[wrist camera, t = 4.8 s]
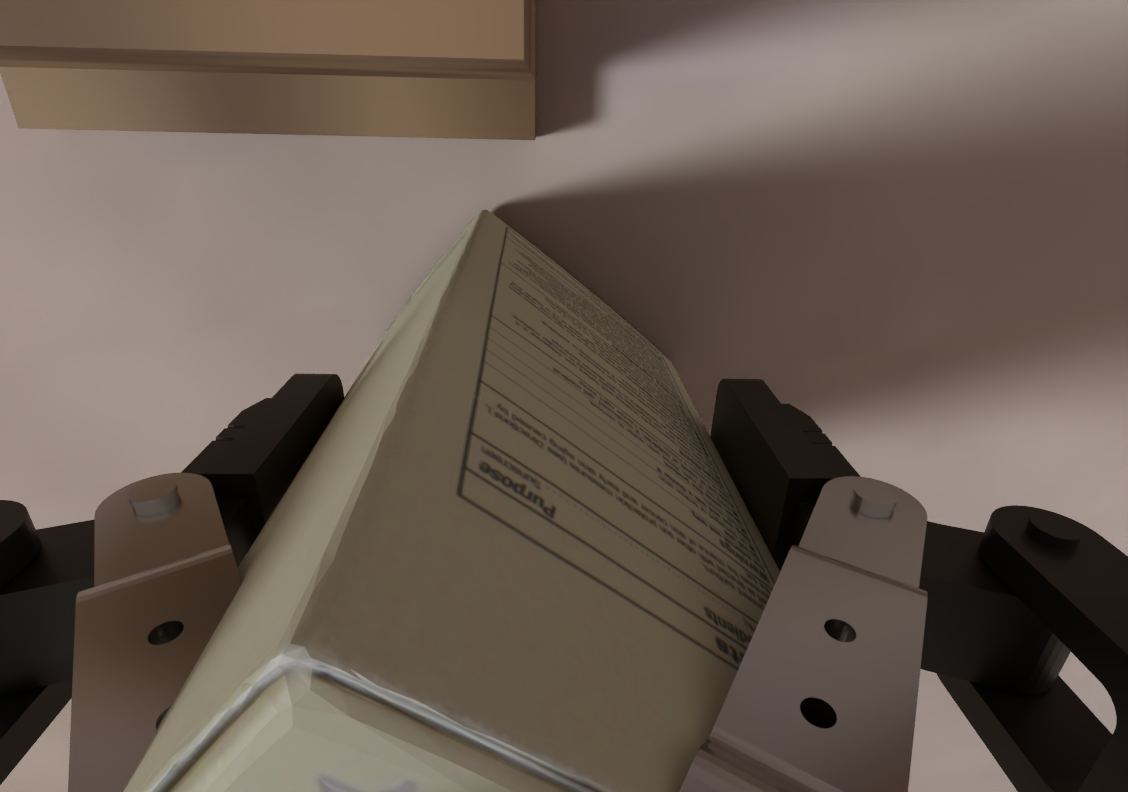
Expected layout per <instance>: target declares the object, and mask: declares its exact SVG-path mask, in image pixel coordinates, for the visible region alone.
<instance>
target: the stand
mask: <svg viewBox="0 0 1128 792" xmlns="http://www.w3.org/2000/svg"><path fill="white" fill-rule="evenodd" d="M0 73H1V76H2V79H3V82H4V85H5V88H6V91H7V94H8V97H9V100H10V103H11V106H12V109H13V112H14V115H15V118H16V121H17V124H18V127H19V128H32V129H76V130H120V131H163V132H207V133H251V134H294V135H338V136H382V137H425V138H469V139H513V140H535V139H536V0H0Z"/></svg>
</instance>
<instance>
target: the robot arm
mask: <svg viewBox="0 0 1128 792" xmlns="http://www.w3.org/2000/svg"><path fill="white" fill-rule="evenodd" d="M343 399H344V393H343V387H342V383H341V380H340V378H339V376H338V375H336V374H294V375H293V376H292V377H291V378H290V379H289V380H288V381H287V382H286V384H285V385H284V386H283V387H282V388H281V389H280V390H279V391H278V392H277V393H276V394H275V395H274V396H273V398H266V399H264V400H262V401H260V402H258V403H256V404H254V405H252V406H250V407H249V408H247V409H245V410H243V411H242V412H241V413H240V414H239V415H238V416H237V417H236V418H235V419H234V420H233V421H232V422H231V423H230V424H229V425H228V428H225V429H224V430H223V431H222V432H221V433H220V434H219V435H218V436H217V437H216V441H212V442H211V443H210V444H209V445H208V446H207V447H206V448H205V449H204V450H203V451H202V452H201V453H200V454H199V455H198V456H197V457H196V458H195V459H194V460H193V461H192V462H191V463H190V464H189V465H188V466H187V467H186V468H185V469H184V470H183V471H182V472H181V473H170V474H163V475H158V476H153V477H150V478H146V479H143V480H140V481H137V482H134V483H132V484H130V485H127V486H125V487H123V488H121V489H120V490H118V491H116V492H114V493H113V494H111V495H110V496H109V497H107V498H106V499H105V500H104V501H103V502H102V503H101V504H100V505H99V506H98V508H97V510H96V512H95V520H90V521H84V522H78V523H73V524H67V525H61V526H56V527H50V528H44V529H38V530H36V529H35V527H34V525H33V523H32V520H31V518H30V516H29V513H28V511H27V509H26V507H25V506H24V505H23V504H20V503H18V502H14V501H7V500H0V785H1V784H2V782H3V781H4V780H5V779H6V777H7V776H8V775H9V774H10V772H11V771H12V770H13V769H14V768H15V766H16V765H17V764H18V763H19V761H20V760H21V759H22V758H23V757H24V755H25V754H26V753H27V752H28V750H29V749H30V748H31V747H32V746H33V744H34V743H35V742H36V741H37V739H38V738H39V737H40V736H41V734H42V733H43V732H44V731H45V730H46V728H47V727H48V726H49V725H50V723H51V722H52V721H53V720H54V719H55V717H56V716H57V715H58V714H59V712H60V711H61V710H62V709H63V708H64V706H65V705H66V704H67V703H68V701H69V700H70V699H71V698H72V707H71V732H70V756H69V781H68V792H122V791H123V789H124V787H125V785H126V784H127V782H128V780H129V779H130V777H131V775H132V773H133V772H134V770H135V768H136V766H137V765H138V763H139V761H140V759H141V758H142V756H143V754H144V752H145V751H146V749H147V747H148V745H149V744H150V742H151V740H152V738H153V737H154V735H155V733H156V731H157V728H158V726H159V724H160V722H161V721H162V719H163V717H164V716H165V714H166V713H167V711H168V710H169V708H170V707H171V705H172V704H173V702H174V700H175V699H176V697H177V695H178V693H179V692H180V690H181V688H182V686H183V685H184V683H185V681H186V680H187V678H188V676H189V674H190V673H191V671H192V669H193V668H194V666H195V664H196V662H197V661H198V659H199V657H200V655H201V654H202V652H203V650H204V649H205V647H206V645H207V643H208V642H209V640H210V638H211V637H212V635H213V633H214V631H215V630H216V628H217V626H218V624H219V623H220V621H221V619H222V618H223V616H224V614H225V612H226V611H227V609H228V607H229V605H230V604H231V602H232V600H233V599H234V597H235V595H236V593H237V592H238V590H239V588H240V586H241V585H242V582H241V579H240V575H239V572H238V567H239V566H240V564H241V562H242V561H243V559H244V557H245V556H246V554H247V553H248V551H249V549H250V548H251V546H252V545H253V543H254V541H255V540H256V538H257V537H258V535H259V533H260V532H261V530H262V528H263V527H264V525H265V524H266V522H267V521H268V519H269V517H270V516H271V514H272V513H273V511H274V509H275V508H276V506H277V505H278V503H279V502H280V500H281V498H282V497H283V495H284V494H285V492H286V490H287V489H288V487H289V486H290V484H291V482H292V481H293V479H294V478H295V476H296V475H297V473H298V471H299V470H300V468H301V467H302V465H303V463H304V462H305V460H306V459H307V457H308V455H309V454H310V452H311V451H312V449H313V447H314V446H315V444H316V443H317V441H318V440H319V438H320V436H321V435H322V433H323V432H324V430H325V428H326V427H327V425H328V424H329V422H330V420H331V419H332V417H333V416H334V414H335V412H336V411H337V409H338V408H339V406H340V404H341V403H342V401H343ZM710 438H711V440H712V442H713V443H714V445H715V447H716V449H717V451H718V453H719V455H720V457H721V459H722V461H723V463H724V465H725V467H726V469H727V470H728V472H729V474H730V476H731V478H732V480H733V482H734V484H735V486H736V488H737V490H738V492H739V494H740V495H741V497H742V499H743V501H744V503H745V505H746V507H747V509H748V511H749V513H750V515H751V517H752V518H753V520H754V522H755V524H756V526H757V528H758V530H759V532H760V534H761V536H762V538H763V540H764V541H765V543H766V545H767V547H768V549H769V551H770V553H771V555H772V557H773V559H774V561H775V563H776V565H777V567H778V568H779V570H780V574H779V576H778V578H777V581H776V583H775V585H774V588H773V590H772V592H771V595H770V597H769V599H768V602H767V604H766V606H765V609H764V611H763V613H762V616H761V618H760V620H759V623H758V625H757V627H756V630H755V632H754V634H753V637H752V639H751V641H750V644H749V646H748V648H747V651H746V653H745V655H744V658H743V660H742V662H741V665H740V667H739V669H738V672H737V674H736V676H735V678H734V681H733V683H732V685H731V688H730V690H729V692H728V695H727V697H726V699H725V702H724V704H723V706H722V709H721V711H720V713H719V716H718V718H717V720H716V723H715V725H714V727H713V729H712V732H711V734H710V736H709V737H708V739H707V741H706V742H705V743H703V744H702V746H701V747H700V749H699V750H698V752H697V754H696V756H695V758H694V760H693V762H692V764H691V766H690V768H689V770H688V773H687V775H686V777H685V779H684V782H683V784H682V786H681V789H680V791H679V792H908V785H909V775H910V766H911V756H912V746H913V736H914V727H915V717H916V707H917V697H918V687H919V678H920V669H923V670H927V671H931V672H935V673H937V675H938V677H939V679H940V680H941V682H942V683H943V685H944V686H945V688H946V689H947V691H948V692H949V693H950V695H951V696H952V698H953V699H954V701H955V702H956V703H957V705H958V706H959V708H960V709H961V711H962V712H963V714H964V715H965V716H966V718H967V719H968V721H969V722H970V724H971V725H972V726H973V728H974V729H975V731H976V732H977V734H978V735H979V736H980V738H981V739H982V741H983V742H984V744H985V745H986V746H987V748H988V749H989V751H990V752H991V754H992V755H993V757H994V758H995V759H996V761H997V762H998V764H999V765H1000V767H1001V768H1002V769H1003V771H1004V772H1005V774H1006V775H1007V777H1008V778H1009V779H1010V781H1011V782H1012V784H1013V785H1014V787H1015V788H1016V790H1017V791H1018V792H1128V556H1126V555H1125V554H1124V553H1122V552H1121V551H1120V550H1119V549H1117V548H1116V547H1115V546H1113V545H1112V544H1111V543H1109V542H1108V541H1107V540H1105V539H1104V538H1103V537H1102V536H1100V535H1099V534H1097V533H1096V532H1094V531H1093V530H1091V529H1090V528H1088V527H1086V526H1085V525H1083V524H1081V523H1079V522H1077V521H1075V520H1072V519H1070V518H1068V517H1065V516H1063V515H1060V514H1057V513H1054V512H1051V511H1047V510H1043V509H1039V508H1034V507H1027V506H1005V507H1001V508H998V509H996V510H995V511H994V512H993V513H992V515H991V517H990V519H989V522H988V525H987V527H986V530H985V532H984V533H983V532H978V531H973V530H967V529H962V528H957V527H952V526H947V525H941V524H937V523H932V522H928V521H927V513H926V511H925V509H924V507H923V506H922V504H921V503H920V502H919V501H918V500H917V499H915V498H914V497H913V496H912V495H910V494H909V493H907V492H905V491H904V490H902V489H900V488H898V487H896V486H893V485H891V484H888V483H886V482H882V481H879V480H875V479H871V478H865V477H860V475H859V474H858V473H857V472H856V471H855V469H854V468H853V467H852V466H851V465H850V463H849V462H848V461H847V460H846V459H845V458H844V456H843V455H842V454H841V453H840V452H839V450H838V449H837V448H836V447H835V446H832V442H831V441H830V440H829V438H828V437H827V436H826V435H825V434H822V430H821V429H820V428H819V427H818V425H817V424H816V423H815V422H814V421H813V419H812V418H811V417H810V416H808V415H807V414H805V413H803V412H802V411H800V410H798V409H797V408H795V407H793V406H792V405H790V404H781V403H780V402H779V400H778V399H777V398H776V397H775V395H774V394H773V393H772V391H771V390H770V389H769V388H768V386H767V385H766V384H765V382H764V381H763V380H761V379H722V380H721V381H720V383H719V386H718V390H717V395H716V402H715V409H714V416H713V423H712V430H711V437H710ZM1070 652H1072V653H1073V654H1074V655H1075V656H1076V657H1077V658H1078V659H1079V660H1080V661H1081V662H1082V663H1083V664H1084V665H1085V666H1086V667H1087V669H1088V670H1089V671H1090V672H1091V673H1092V674H1093V675H1094V676H1095V677H1096V678H1097V679H1098V680H1099V681H1100V682H1101V683H1102V684H1103V686H1104V687H1105V688H1106V690H1107V691H1108V693H1109V695H1110V697H1111V699H1112V701H1113V703H1114V706H1115V710H1116V716H1117V724H1116V729H1115V731H1114V733H1113V735H1112V734H1111V733H1110V732H1109V731H1108V729H1107V728H1106V727H1105V726H1104V725H1103V724H1102V723H1101V722H1100V721H1099V720H1098V718H1097V717H1096V716H1095V715H1094V714H1093V713H1092V712H1091V711H1090V710H1089V709H1088V707H1087V706H1086V705H1085V704H1084V703H1083V702H1082V701H1081V700H1080V699H1079V698H1078V696H1077V695H1076V694H1075V693H1074V692H1073V691H1072V690H1071V689H1070V688H1069V687H1068V685H1067V684H1066V683H1065V682H1064V681H1063V680H1062V679H1061V678H1060V677H1059V676H1058V674H1059V673H1060V671H1061V669H1062V667H1063V665H1064V663H1065V661H1066V659H1067V657H1068V656H1069V654H1070Z"/></svg>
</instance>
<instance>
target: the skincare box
mask: <svg viewBox="0 0 1128 792" xmlns="http://www.w3.org/2000/svg"><path fill="white" fill-rule="evenodd" d="M238 572H239V575H240V579H241V582H242V585H241V586H240V588H239V590H238V592H237V593H236V595H235V597H234V599H233V600H232V602H231V604H230V605H229V607H228V609H227V611H226V612H225V614H224V616H223V618H222V619H221V621H220V623H219V624H218V626H217V628H216V630H215V631H214V633H213V635H212V637H211V638H210V640H209V642H208V643H207V645H206V647H205V649H204V650H203V652H202V654H201V655H200V657H199V659H198V661H197V662H196V664H195V666H194V668H193V669H192V671H191V673H190V674H189V676H188V678H187V680H186V681H185V683H184V685H183V686H182V688H181V690H180V692H179V693H178V695H177V697H176V699H175V700H174V702H173V704H172V705H171V707H170V708H169V710H168V711H167V713H166V714H165V716H164V717H163V719H162V721H161V722H160V724H159V726H158V728H157V731H156V733H155V735H154V737H153V738H152V740H151V742H150V744H149V745H148V747H147V749H146V751H145V752H144V754H143V756H142V758H141V759H140V761H139V763H138V765H137V766H136V768H135V770H134V772H133V773H132V775H131V777H130V779H129V780H128V782H127V784H126V785H125V787H124V789H123V791H122V792H679V791H680V789H681V786H682V784H683V782H684V779H685V777H686V775H687V773H688V770H689V768H690V766H691V764H692V762H693V760H694V758H695V756H696V754H697V752H698V750H699V749H700V747H701V746H702V744H703V743H705V742H706V741H707V739H708V737H709V736H710V734H711V732H712V729H713V727H714V725H715V723H716V720H717V718H718V716H719V713H720V711H721V709H722V706H723V704H724V702H725V699H726V697H727V695H728V692H729V690H730V688H731V685H732V683H733V681H734V678H735V676H736V674H737V672H738V669H739V667H740V665H741V662H742V660H743V658H744V655H745V653H746V651H747V648H748V646H749V644H750V641H751V639H752V637H753V634H754V632H755V630H756V627H757V625H758V623H759V620H760V618H761V616H762V613H763V611H764V609H765V606H766V604H767V602H768V599H769V597H770V595H771V592H772V590H773V588H774V585H775V583H776V581H777V578H778V576H779V574H780V570H779V568H778V567H777V565H776V563H775V561H774V559H773V557H772V555H771V553H770V551H769V549H768V547H767V545H766V543H765V541H764V540H763V538H762V536H761V534H760V532H759V530H758V528H757V526H756V524H755V522H754V520H753V518H752V517H751V515H750V513H749V511H748V509H747V507H746V505H745V503H744V501H743V499H742V497H741V495H740V494H739V492H738V490H737V488H736V486H735V484H734V482H733V480H732V478H731V476H730V474H729V472H728V470H727V469H726V467H725V465H724V463H723V461H722V459H721V457H720V455H719V453H718V451H717V449H716V447H715V445H714V443H713V442H712V440H711V438H710V436H709V434H708V432H707V430H706V428H705V426H704V424H703V422H702V420H701V418H700V417H699V415H698V413H697V411H696V409H695V407H694V405H693V403H692V401H691V399H690V397H689V395H688V393H687V391H686V389H685V387H684V385H683V383H682V381H681V379H680V377H679V375H678V373H677V372H676V370H675V368H674V366H673V364H672V362H671V361H670V360H669V359H668V358H667V357H666V356H664V355H663V354H662V353H661V352H660V351H659V350H658V349H657V348H656V347H655V346H653V345H652V344H651V343H650V342H649V341H648V340H647V339H646V338H645V337H644V336H642V335H641V334H640V333H639V332H638V331H636V330H635V329H634V328H633V327H632V326H631V325H630V324H628V323H627V322H626V321H625V320H624V319H623V318H622V317H620V316H619V315H618V314H617V313H616V312H615V311H613V310H612V309H611V308H610V307H609V306H607V305H606V304H605V303H604V302H603V301H602V300H600V299H599V298H598V297H597V296H595V295H594V294H593V293H592V292H591V291H589V290H588V289H587V288H586V287H584V286H583V285H582V284H581V283H580V282H578V281H577V280H576V279H575V278H574V277H572V276H571V275H570V274H569V273H568V272H566V271H565V270H564V269H563V268H561V267H560V266H559V265H558V264H556V263H555V262H554V261H553V260H551V259H550V258H549V257H548V256H546V255H545V254H544V253H543V252H541V251H540V250H539V249H538V248H536V247H535V246H534V245H533V244H531V243H530V242H529V241H527V240H526V239H525V238H524V237H522V236H521V235H520V234H518V233H517V232H516V231H514V230H513V229H512V228H511V227H509V226H508V225H507V224H505V223H504V222H503V221H502V220H500V219H499V218H498V217H496V216H495V215H494V214H493V213H491V212H489V211H488V210H482V211H480V212H479V214H478V215H477V216H476V217H475V218H474V219H473V221H472V222H471V223H470V224H469V225H468V227H467V228H466V229H465V230H464V231H463V232H462V234H461V235H460V236H459V237H458V238H457V240H456V241H455V242H454V243H453V245H452V246H451V247H450V248H449V249H448V251H447V252H446V253H445V254H444V255H443V257H442V258H441V259H440V260H439V262H438V263H437V264H436V265H435V267H434V268H433V269H432V270H431V272H430V273H429V274H428V276H427V277H426V278H425V279H424V281H423V282H422V283H421V284H420V286H419V287H418V288H417V290H416V291H415V292H414V294H413V295H412V296H411V298H410V299H409V300H408V302H407V303H406V304H405V306H404V307H403V308H402V310H401V311H400V312H399V314H398V315H397V317H396V318H395V320H394V321H393V323H392V324H391V325H390V327H389V328H388V330H387V331H386V333H385V334H384V336H383V337H382V339H381V340H380V342H379V343H378V345H377V347H376V348H375V350H374V351H373V353H372V355H371V356H370V358H369V359H368V361H367V363H366V364H365V366H364V367H363V369H362V371H361V372H360V374H359V375H358V377H357V378H356V380H355V382H354V383H353V385H352V386H351V388H350V390H349V391H348V393H347V394H346V396H345V398H344V399H343V401H342V403H341V404H340V406H339V408H338V409H337V411H336V412H335V414H334V416H333V417H332V419H331V420H330V422H329V424H328V425H327V427H326V428H325V430H324V432H323V433H322V435H321V436H320V438H319V440H318V441H317V443H316V444H315V446H314V447H313V449H312V451H311V452H310V454H309V455H308V457H307V459H306V460H305V462H304V463H303V465H302V467H301V468H300V470H299V471H298V473H297V475H296V476H295V478H294V479H293V481H292V482H291V484H290V486H289V487H288V489H287V490H286V492H285V494H284V495H283V497H282V498H281V500H280V502H279V503H278V505H277V506H276V508H275V509H274V511H273V513H272V514H271V516H270V517H269V519H268V521H267V522H266V524H265V525H264V527H263V528H262V530H261V532H260V533H259V535H258V537H257V538H256V540H255V541H254V543H253V545H252V546H251V548H250V549H249V551H248V553H247V554H246V556H245V557H244V559H243V561H242V562H241V564H240V566H239V567H238Z"/></svg>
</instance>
